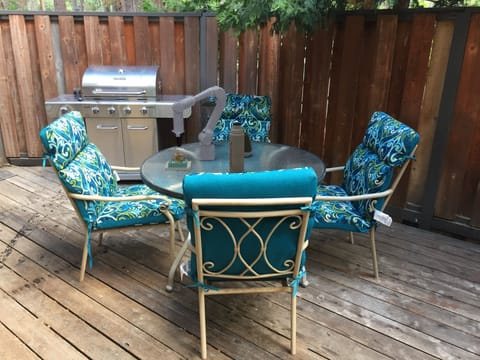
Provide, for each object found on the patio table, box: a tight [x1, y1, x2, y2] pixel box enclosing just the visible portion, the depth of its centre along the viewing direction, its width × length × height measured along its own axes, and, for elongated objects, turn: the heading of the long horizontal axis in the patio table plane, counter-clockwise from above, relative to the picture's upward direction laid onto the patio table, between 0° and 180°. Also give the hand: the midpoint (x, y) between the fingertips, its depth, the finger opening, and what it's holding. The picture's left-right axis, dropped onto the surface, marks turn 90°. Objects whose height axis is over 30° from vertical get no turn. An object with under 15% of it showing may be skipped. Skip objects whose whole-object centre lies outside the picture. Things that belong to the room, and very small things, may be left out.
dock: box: [164, 158, 192, 171], centre depth 235 cm, size 14×12×4 cm
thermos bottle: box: [229, 121, 245, 174], centre depth 221 cm, size 8×8×28 cm
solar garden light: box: [200, 101, 217, 144], centre depth 270 cm, size 12×12×30 cm
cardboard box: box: [173, 151, 184, 163], centre depth 237 cm, size 4×6×5 cm
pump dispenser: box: [243, 131, 253, 158], centre depth 254 cm, size 10×10×15 cm
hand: (179, 145), depth 243 cm, fingers open, 5 cm apart
